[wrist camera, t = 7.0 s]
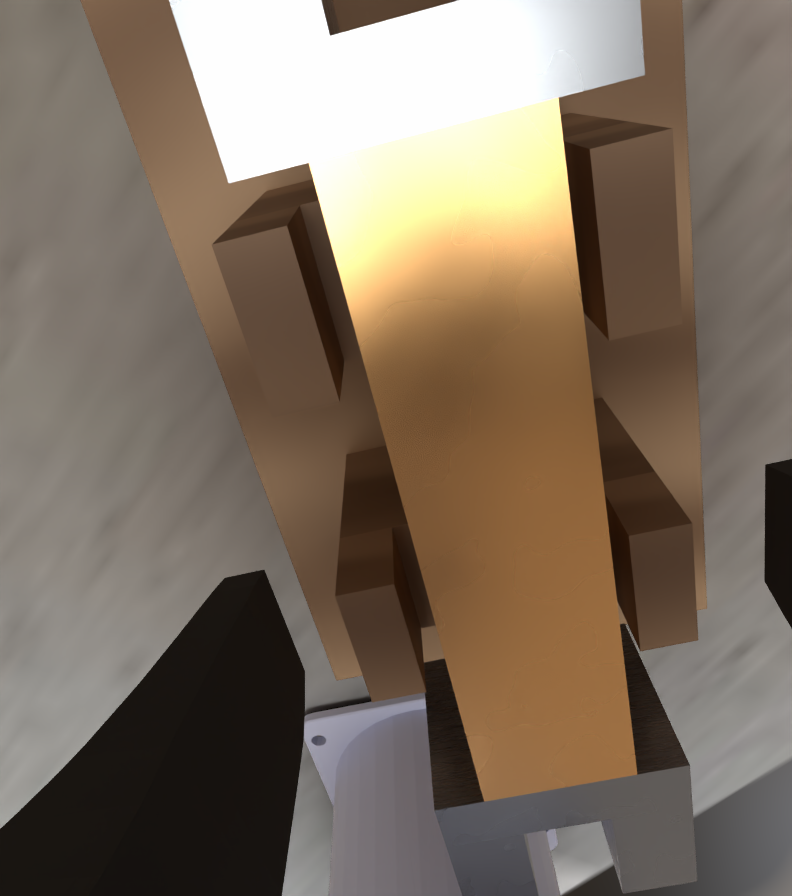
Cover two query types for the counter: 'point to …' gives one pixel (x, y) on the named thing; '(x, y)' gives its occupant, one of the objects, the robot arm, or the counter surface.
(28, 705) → the counter surface
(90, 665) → the counter surface
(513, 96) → the spanner
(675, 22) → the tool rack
